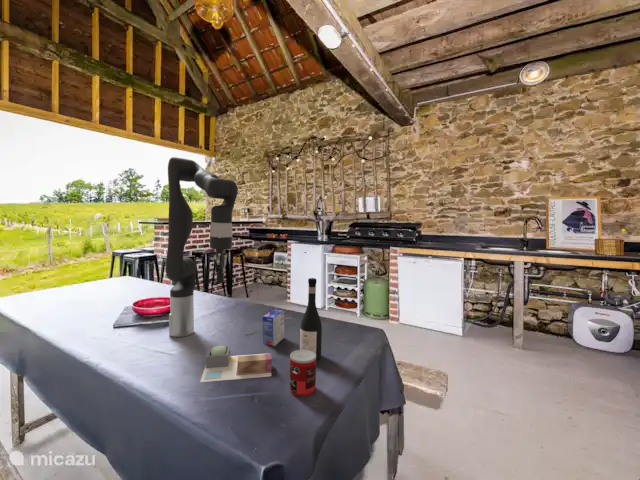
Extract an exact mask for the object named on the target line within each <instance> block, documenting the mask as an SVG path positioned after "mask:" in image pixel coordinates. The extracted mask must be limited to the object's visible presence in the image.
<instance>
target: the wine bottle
mask: <svg viewBox="0 0 640 480" xmlns="http://www.w3.org/2000/svg"><path fill="white" fill-rule="evenodd" d="M307 283H308V294H307V295H308V296H307V297H308V299H307V300H308V301H307V305H306V306H307V307H306V310H305V312H304V314H303V316H302V319H301V322H300V327H299V328H300V332H299V333H300V334H299V335H300V336H299V350H309V351H312V352H314V353H315V354H316V361H318V360H320V358H321V357H322V344H323V343H322V339H323V335H322V334H323V326H322V325H323V324H322V321H321V318H320V315H319V311H318V308H317V304H316V299H317V297H316V293H317V291H316V289H317V279H316V278H314V277H309V278H308V279H307Z"/></svg>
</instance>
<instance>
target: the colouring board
mask: <svg viewBox="0 0 640 480" xmlns="http://www.w3.org/2000/svg"><path fill="white" fill-rule="evenodd" d="M262 354H263V353H257V354H253V355H262ZM267 354H271V353H267ZM248 355H249V354H244V355H242V354H241V355H230V360H229V365H228V367H215V368H206V365H205V366H204V370H203V372H202V375H201V378H200V381H199V383H206V382H207V383H208V382H210V383H211V382H219V381H220V382H221V381H229V380H230V381H232V380H242V379H243V380H244V379H254V378H255V379H256V378H265V377H267V378H269V377H272V370H271V371H263V372H251V373H240V374H238V356H248Z"/></svg>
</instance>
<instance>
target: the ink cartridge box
mask: <svg viewBox="0 0 640 480" xmlns="http://www.w3.org/2000/svg"><path fill="white" fill-rule="evenodd" d="M268 311H269V312H268V313H266V314H265V315H263V316H262V344H263V345H267V346H273V347H275V346H277V344H279V343H280V342H281V341H282V340H283V339H285V311H284V310H281V309H276V308H275V307H274V306H271V307H269V308H268Z"/></svg>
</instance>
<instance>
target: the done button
mask: <svg viewBox="0 0 640 480" xmlns="http://www.w3.org/2000/svg"><path fill="white" fill-rule="evenodd" d="M225 346H226V345H217V346H213V348H212V349H211V355H225V354H226V347H225Z"/></svg>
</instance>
